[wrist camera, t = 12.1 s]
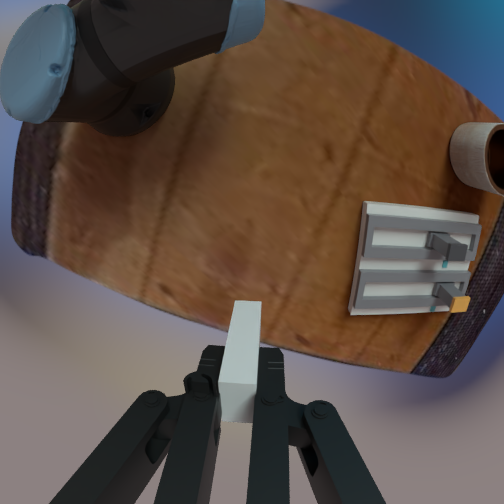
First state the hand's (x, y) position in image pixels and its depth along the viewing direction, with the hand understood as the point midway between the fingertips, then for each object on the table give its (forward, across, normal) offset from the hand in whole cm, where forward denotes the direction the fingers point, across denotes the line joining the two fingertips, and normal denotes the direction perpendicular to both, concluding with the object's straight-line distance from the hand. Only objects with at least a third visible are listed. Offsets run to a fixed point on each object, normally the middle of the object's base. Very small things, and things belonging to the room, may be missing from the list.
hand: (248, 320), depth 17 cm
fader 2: (+24, +32, -10) cm, 41 cm away
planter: (+27, +35, +13) cm, 46 cm away
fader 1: (+24, +28, -2) cm, 37 cm away
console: (+26, +26, -6) cm, 38 cm away
